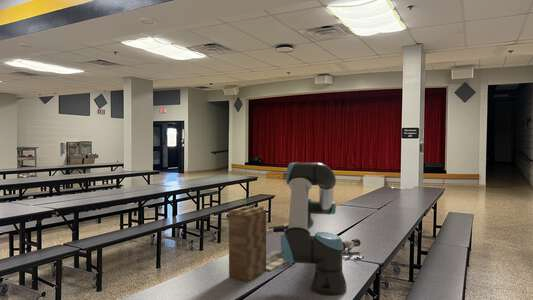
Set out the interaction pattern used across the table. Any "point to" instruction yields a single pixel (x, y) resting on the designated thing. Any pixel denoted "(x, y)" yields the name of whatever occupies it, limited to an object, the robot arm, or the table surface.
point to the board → (275, 264)
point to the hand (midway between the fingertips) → (276, 235)
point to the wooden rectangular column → (247, 243)
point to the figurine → (350, 245)
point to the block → (273, 256)
